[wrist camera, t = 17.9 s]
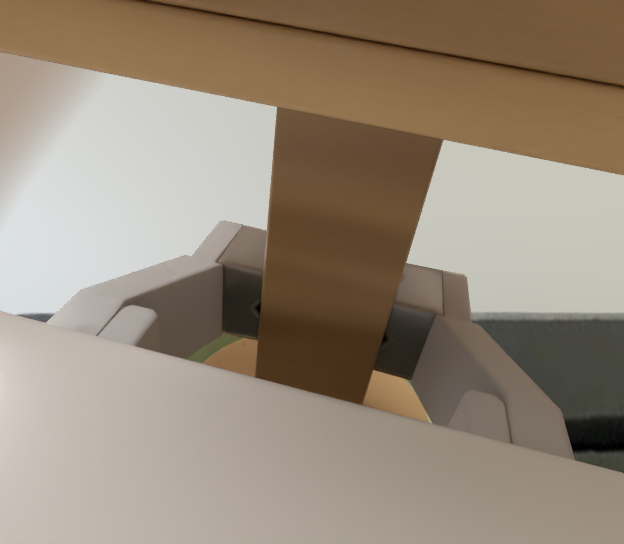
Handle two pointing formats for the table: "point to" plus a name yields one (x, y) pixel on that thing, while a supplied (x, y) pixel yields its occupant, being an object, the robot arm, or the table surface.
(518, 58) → the wooden pedestal tray
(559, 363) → the table surface
